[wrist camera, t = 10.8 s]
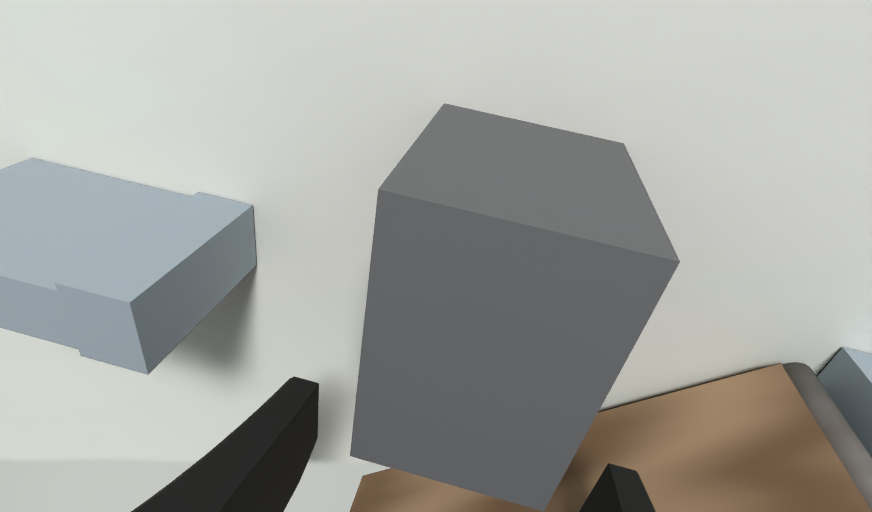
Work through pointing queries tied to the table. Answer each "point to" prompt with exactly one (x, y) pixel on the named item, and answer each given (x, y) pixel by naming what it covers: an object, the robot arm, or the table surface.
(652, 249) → the grey rectangular prism
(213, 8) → the table surface
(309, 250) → the table surface
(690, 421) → the door
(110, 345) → the wall frame
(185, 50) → the table surface
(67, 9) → the table surface
